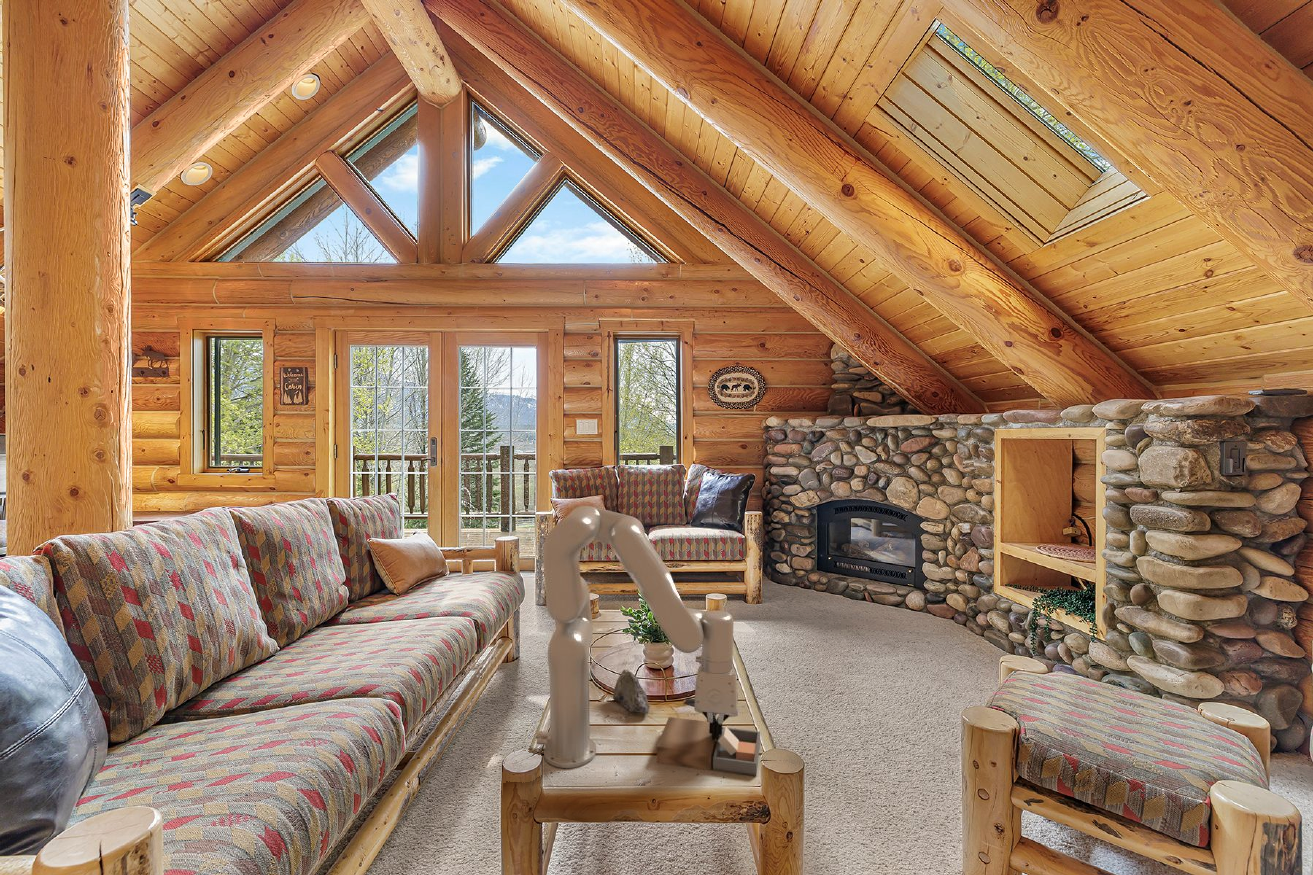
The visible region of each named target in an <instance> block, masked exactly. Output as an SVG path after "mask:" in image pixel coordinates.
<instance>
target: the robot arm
mask: <svg viewBox="0 0 1313 875" xmlns="http://www.w3.org/2000/svg"><path fill="white" fill-rule="evenodd" d="M594 541H595V542H598V543H603V544H606V545H609V546H610V549H611V550H612V552H613V553H614V555H615V557H616V558H617V559H618V561H619V562H620V564H621V565H622V567H623V568H624V570H625V572H626V573H627V574H628V576H629V577H630V579H631V580H632V581H633V583H634V584H635V585H636V587H637V589H638V590H639V592H640V594H641V596H642V598H643V600H644V602H645V603H646V605H647V607H648V608H649V610H650V612H651V614H652V615H653V618H654V619H655V621H656V623H657V625H658V626H659V627H660V629H661V630H662V632H663V633H664V635H665V636H666V638H667V639H668V641H669V642H670V643H671V645H672V646H673V647H674V648H675V649H676V650H677V651H679V652H680V653H684V654H692V653H694V652H695V653H696V651H698V650H699V649H700V648H701V655H699V656H695V663H699V665H700V666H698V669H697V672H696V680H695V688H694V689H695V690H694V699H695V707H694V709H693V710H694V711H695V712H697V713H700V714H702V715H703V716H704V717H705V718H706V719H707V722H709V723H710V725H709V733H710V734H712V739H716V740H718V739H719V735H722V727H723V723H724V722H725V721H726V720H727V719H729V718H735V717H738V716H739V708H738V701H739V700H738V699H739V698H738V695H739V693H738V681H737V671H736V669H735V668H734V664H733V663H734V618H733V616H732V614H730V613H729V612H727V611H726V610H725V611H724V610H719V609H718V610H709V611H708V610H701V609H697V608H691V607H686V606H685V604H684V602H683V601H682V599H681V596H680V595H679V593H678V591H677V588H676V585H675V581H674V579H673V577H672V574H671V572H670V571H669V568H668V567H667V565H666V564H665V562H664V561H663V560H662V558H661V557H660V555H659V554H658V552H657V551H656V549H655V548H654V547H653V545H652V543H651V542H650V540H649V539H648V537H647V536H646V534H645V528H644V525H643V524H642V522H641V521H640V520H639V519H638V518H636V517H634V516H631V515H628V514H623V513H619V512H615V511H611V510H608V509H603V508H599V507H595V506H592V505H581V506H577V507H575V508H574V509H573V510H571V511H570V512H569V514H568V515H567V516H566V517H565V518H564V519H562V520H560V522H558V523H557V524H556V525H555V526H554V527H552V528H551V530H549V532H548V534H547V535H546V537H545V539H544V543H543V549H542V556H543V557H542V558H543V572H544V587H545V597H546V598H545V600H546V601H545V602H546V609H547V612H548V614H549V616H550V617H551V619H552V620H554V624H555V629H554V631H553V634H552V636H551V638H550V640H549V644H548V648H547V664H548V674H549V706H550V707H549V709H550V711H549V712H550V714H549V716H550V718H549V720H550V722H549V724H550V725H549V726H550V730H549V731H544V730H537V731H536V732H535V739H536V744H537V745H541V746H542V745H544V746H545V748H544V755H543V756H544V759H545V761H546V762H547V763H548V764H550V765H551V766H553V767H557V768H562V769H573V768H578V767H580V766H584V765H586V764H588V763H589V762H590V761H592V760H593V759H594V758H595V757H596V753H597V745H596V743H595V741H594V740H593V739H591V737H590V735H591V733H590V732H591V731H590V728H591V727H590V726H591V725H590V724H591V723H590V722H591V721H590V720H591V719H590V714H591V713H590V671H589V670H590V669H589V653H590V647H591V642H592V639H593V634H594V632H593V629H594V628H593V615H592V605H591V604H592V603H591V597H590V596H591V595H590V588H589V585H588V583H587V581H586V580H585V578H583V576H581V566H580V565H581V564H580V561H579V554H580V551H581V550H583V549H584V548H585V547H586V546H589V545H591V543H592V542H594ZM714 713H717V714H716V715H718V716H714ZM716 717H717V718H716ZM536 734H537V736H536Z"/></svg>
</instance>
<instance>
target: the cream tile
mask: <svg viewBox="0 0 1313 875" xmlns="http://www.w3.org/2000/svg"><path fill="white" fill-rule="evenodd" d="M724 727H725V728H724V729H722V735H719V739H718V742H719V743H720V744H721V745H722V746H723V747H724V748H725V749H726V750H727V752H728V753H729V754H730V755H733V754H734V753H735V752H736V751H737V749H738V743H739V740H738V739H737V738H736V737H735V736H734V735H733V734H732V732H731V731H730V730H729V729H728V728H729V727H727V726H724Z"/></svg>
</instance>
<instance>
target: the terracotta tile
mask: <svg viewBox="0 0 1313 875" xmlns="http://www.w3.org/2000/svg"><path fill="white" fill-rule="evenodd" d="M755 750H756V743H747V742H739V743H738V749H737V751H736V760H743V761H750V762H754V758H755Z"/></svg>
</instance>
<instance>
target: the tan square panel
mask: <svg viewBox="0 0 1313 875" xmlns="http://www.w3.org/2000/svg"><path fill="white" fill-rule="evenodd" d="M709 725H710V723H709V722H708V720H698V719H697V720H696V719H688V718H679V717H673V716H672V717H671V716H668V718H667V720H666V723H665V726H664V728H663V730H662V733H661V735H660V737H659V740H658V743H657V745H656V764H664V765H670V766H677V767H685V768H693V769H699V770H707V771H712V769H713V756H714V752H715V748H716V744H717V740H716V739H712V734H710V733H709Z"/></svg>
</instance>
